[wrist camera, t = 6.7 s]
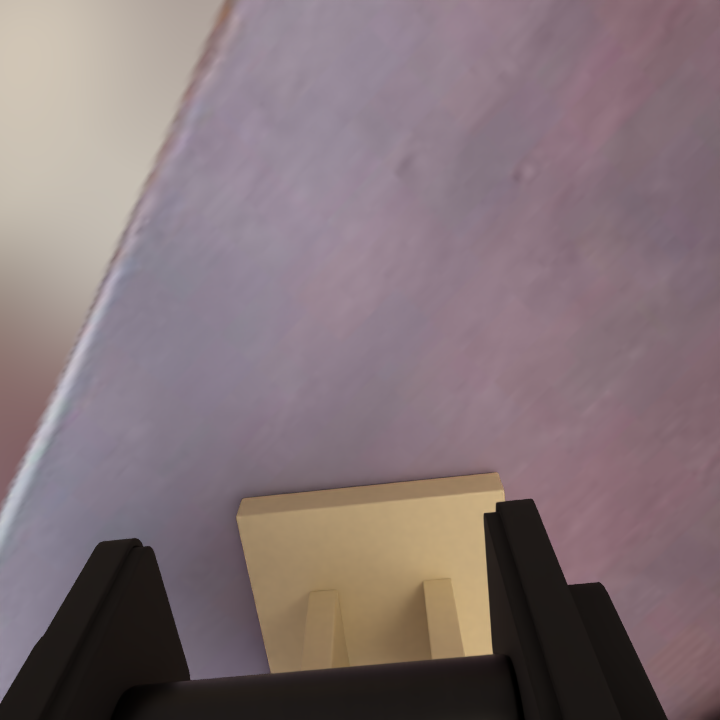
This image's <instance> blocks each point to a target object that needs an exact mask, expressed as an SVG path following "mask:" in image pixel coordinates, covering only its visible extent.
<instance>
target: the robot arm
mask: <svg viewBox="0 0 720 720" xmlns="http://www.w3.org/2000/svg"><path fill="white" fill-rule="evenodd" d="M483 519H484V535H485V549H486V564H487V579H488V594H489V609H490V624H491V638H492V650H493V654H500V653H503V654H506V655H508V656H509V657H510V659H511V661H512V664H513V667H514V670H515V674H516V678H517V682H518V686H519V691H520V696H521V701H522V706H523V712H524V718H525V720H668V719H667V717H666V715H665V712H664V710H663V708H662V706H661V704H660V702H659V700H658V698H657V696H656V693H655V691H654V689H653V687H652V685H651V683H650V681H649V679H648V677H647V675H646V672H645V670H644V668H643V666H642V664H641V662H640V660H639V658H638V656H637V653H636V651H635V649H634V647H633V645H632V643H631V641H630V639H629V637H628V634H627V632H626V630H625V628H624V626H623V624H622V622H621V620H620V618H619V616H618V613H617V611H616V609H615V607H614V605H613V603H612V601H611V599H610V597H609V594H608V593H607V591H606V589H605V587H604V586H603V585H602V584H601V583H600V582H596V583H585V584H574V585H567V582H566V580H565V577H564V575H563V572H562V570H561V567H560V565H559V562H558V560H557V557H556V555H555V552H554V550H553V547H552V545H551V542H550V540H549V537H548V535H547V532H546V530H545V527H544V525H543V523H542V520H541V518H540V515H539V513H538V510H537V508H536V505H535V503H534V501H533V499H523V500H513V501H503V502H496V512H489V513H484V516H483ZM178 681H190V674H189V669H188V666H187V662H186V659H185V655H184V652H183V649H182V645H181V642H180V638H179V635H178V632H177V628H176V625H175V621H174V618H173V614H172V611H171V608H170V604H169V601H168V597H167V594H166V591H165V587H164V584H163V580H162V577H161V573H160V570H159V567H158V563H157V560H156V556H155V553H154V551H153V549H152V548H151V547H149V546H145V547H143V545H142V543H141V541H140V540H139V539H136V538H132V539H122V540H112V541H103V542H100V543H99V544H98V545H97V546H96V547H95V549H94V551H93V553H92V554H91V556H90V558H89V559H88V561H87V563H86V564H85V566H84V568H83V570H82V571H81V573H80V575H79V576H78V578H77V580H76V581H75V583H74V585H73V586H72V588H71V590H70V592H69V593H68V595H67V597H66V598H65V600H64V602H63V603H62V605H61V607H60V609H59V610H58V612H57V614H56V615H55V617H54V619H53V620H52V622H51V624H50V625H49V627H48V629H47V631H46V632H45V634H44V636H43V637H41V638H40V640H39V641H38V642H37V644H36V645H35V646H34V648H33V650H32V651H31V653H30V655H29V656H28V658H27V660H26V661H25V663H24V665H23V666H22V668H21V670H20V671H19V673H18V675H17V676H16V678H15V680H14V682H13V683H12V685H11V687H10V688H9V690H8V692H7V693H6V695H5V697H4V698H3V700H2V702H1V703H0V720H111V718H112V715H113V712H114V709H115V707H116V705H117V702H118V701H119V699H120V697H121V696H122V694H123V693H124V692H125V691H126V690H128V689H129V688H131V687H133V686H135V685H144V684H155V683H167V682H178Z"/></svg>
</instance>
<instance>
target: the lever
mask: <svg viewBox="0 0 720 720" xmlns="http://www.w3.org/2000/svg"><path fill="white" fill-rule="evenodd" d="M111 720H525V718H524V712H523V706H522V701H521V696H520V691H519V686H518V682H517V678H516V674H515V670H514V667H513V664H512V661H511V659H510V657H509V656H508V655H506V654H503V653H500V654H488V655H477V656H465V657H454V658H442V659H431V660H419V661H408V662H396V663H385V664H373V665H362V666H351V667H339V668H328V669H316V670H305V671H293V672H282V673H270V674H259V675H247V676H236V677H224V678H213V679H201V680H190V681H178V682H167V683H155V684H144V685H135V686H133V687H131V688H129V689H128V690H126V691H125V692H124V693H123V694H122V696H121V697H120V699H119V701H118V702H117V705H116V707H115V709H114V712H113V715H112V718H111Z"/></svg>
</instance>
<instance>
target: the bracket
mask: <svg viewBox="0 0 720 720" xmlns="http://www.w3.org/2000/svg"><path fill="white" fill-rule="evenodd" d="M503 501H505V494H504V488H503V486H502V483H501V480H500V477H499V474H498V473H486V474H476V475H466V476H456V477H447V478H437V479H427V480H417V481H407V482H398V483H388V484H378V485H368V486H358V487H349V488H339V489H329V490H319V491H309V492H300V493H290V494H280V495H270V496H260V497H251V498H243V499H242V500H241V503H240V506H239V510H238V513H237V516H236V520H237V524H238V529H239V533H240V538H241V542H242V547H243V551H244V556H245V560H246V565H247V569H248V573H249V578H250V582H251V587H252V591H253V596H254V600H255V605H256V609H257V614H258V618H259V622H260V627H261V631H262V636H263V640H264V645H265V649H266V654H267V658H268V663H269V667H270V672H271V673H282V672H293V671H305V670H316V669H328V668H339V667H351V666H362V665H373V664H385V663H396V662H408V661H419V660H431V659H442V658H454V657H465V656H477V655H488V654H493V650H492V638H491V624H490V609H489V594H488V579H487V564H486V549H485V535H484V519H483V516H484V513H489V512H496V502H503Z"/></svg>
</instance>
